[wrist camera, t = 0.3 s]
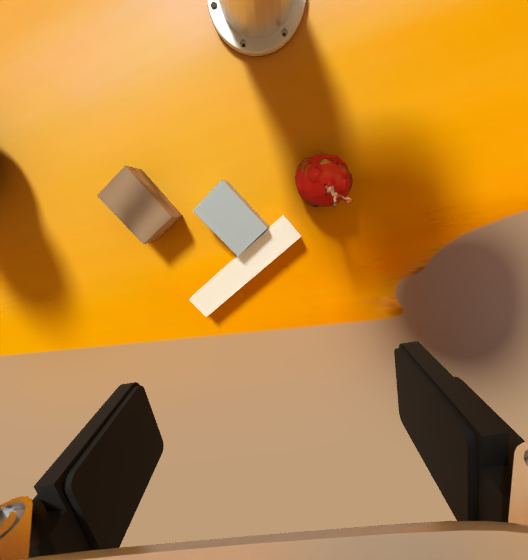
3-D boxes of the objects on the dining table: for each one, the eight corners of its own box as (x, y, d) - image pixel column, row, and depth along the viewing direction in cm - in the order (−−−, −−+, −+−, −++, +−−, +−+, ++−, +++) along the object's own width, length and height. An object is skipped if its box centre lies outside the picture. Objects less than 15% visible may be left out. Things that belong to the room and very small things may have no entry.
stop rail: (194, 293, 48) (188, 299, 45) (283, 214, 44) (283, 215, 41) (210, 310, 49) (206, 317, 46) (299, 234, 44) (301, 236, 42)
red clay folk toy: (350, 164, 41) (389, 145, 27) (336, 212, 43) (366, 218, 29) (300, 152, 41) (312, 127, 27) (288, 201, 43) (294, 202, 29)
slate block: (201, 209, 44) (192, 210, 40) (228, 181, 43) (222, 179, 38) (241, 250, 46) (237, 256, 41) (268, 225, 45) (267, 228, 40)
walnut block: (116, 196, 44) (97, 195, 40) (142, 169, 43) (125, 165, 38) (157, 239, 46) (143, 244, 41) (182, 215, 45) (171, 217, 40)
